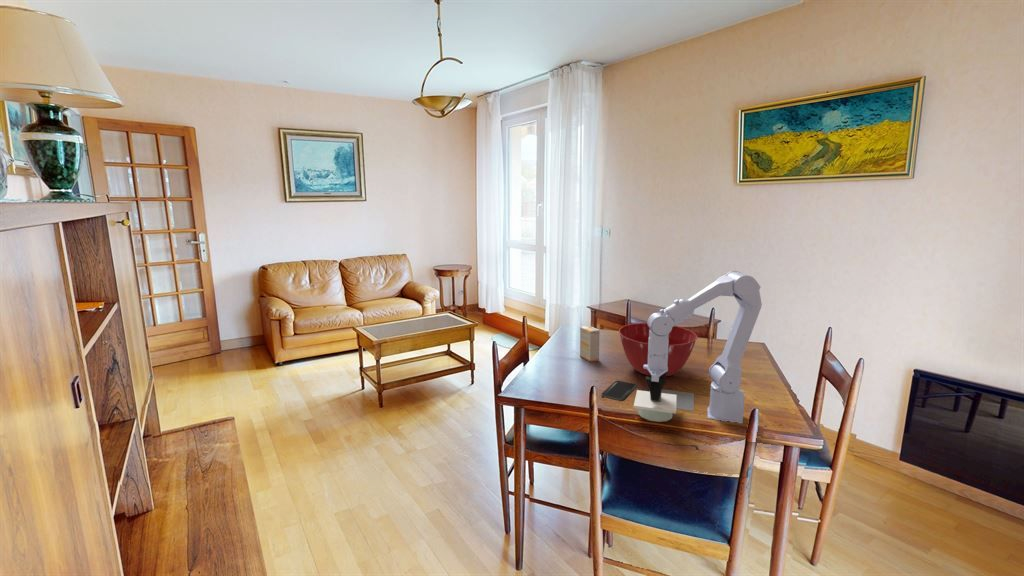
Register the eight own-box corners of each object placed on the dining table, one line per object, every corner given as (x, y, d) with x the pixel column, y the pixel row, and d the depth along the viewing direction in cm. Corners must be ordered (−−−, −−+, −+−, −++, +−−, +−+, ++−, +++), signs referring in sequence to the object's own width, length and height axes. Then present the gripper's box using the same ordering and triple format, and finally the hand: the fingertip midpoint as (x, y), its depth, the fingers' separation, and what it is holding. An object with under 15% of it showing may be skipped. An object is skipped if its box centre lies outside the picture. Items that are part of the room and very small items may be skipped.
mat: (694, 394, 158) (694, 393, 158) (693, 411, 145) (693, 410, 145) (651, 388, 163) (651, 387, 163) (647, 405, 150) (647, 404, 150)
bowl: (673, 410, 147) (673, 398, 146) (671, 424, 137) (672, 411, 137) (640, 405, 150) (640, 393, 149) (636, 419, 141) (636, 406, 140)
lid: (676, 397, 147) (677, 385, 146) (676, 413, 136) (676, 401, 135) (636, 392, 151) (637, 381, 150) (633, 408, 140) (634, 396, 139)
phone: (600, 394, 157) (616, 380, 169) (600, 398, 157) (616, 383, 170) (622, 399, 153) (637, 384, 165) (622, 403, 153) (637, 387, 165)
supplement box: (599, 360, 192) (600, 329, 189) (589, 362, 190) (590, 331, 188) (589, 354, 200) (589, 324, 197) (579, 356, 198) (579, 326, 195)
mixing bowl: (702, 366, 184) (704, 328, 181) (684, 391, 160) (686, 348, 157) (632, 354, 199) (633, 319, 196) (606, 375, 176) (607, 336, 173)
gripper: (646, 344, 148) (644, 384, 151) (641, 359, 135) (639, 403, 137) (670, 346, 146) (667, 387, 148) (667, 362, 132) (664, 406, 135)
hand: (656, 395), depth 143 cm, fingers open, 6 cm apart
